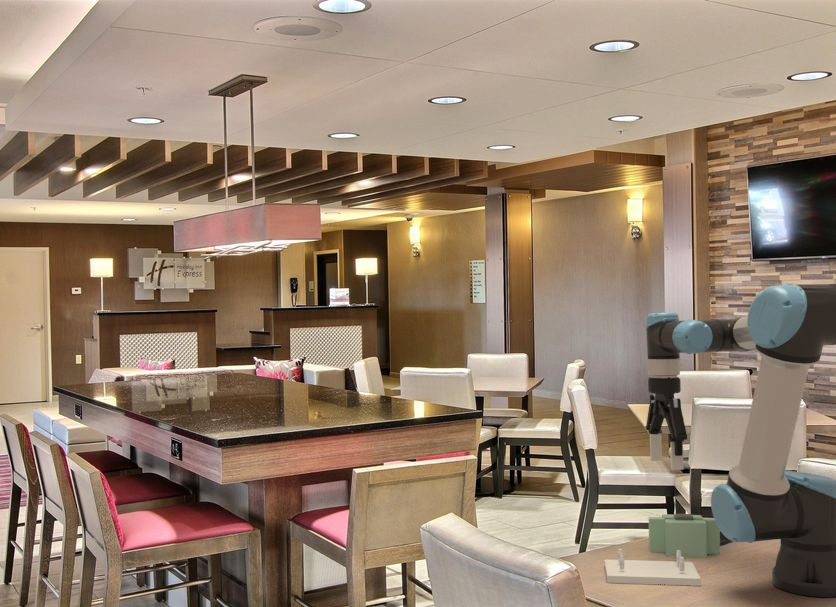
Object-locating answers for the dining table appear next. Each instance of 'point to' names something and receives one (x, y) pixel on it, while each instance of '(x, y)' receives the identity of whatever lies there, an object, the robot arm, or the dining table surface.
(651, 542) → the green stepped block
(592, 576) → the dining table surface
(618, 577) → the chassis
